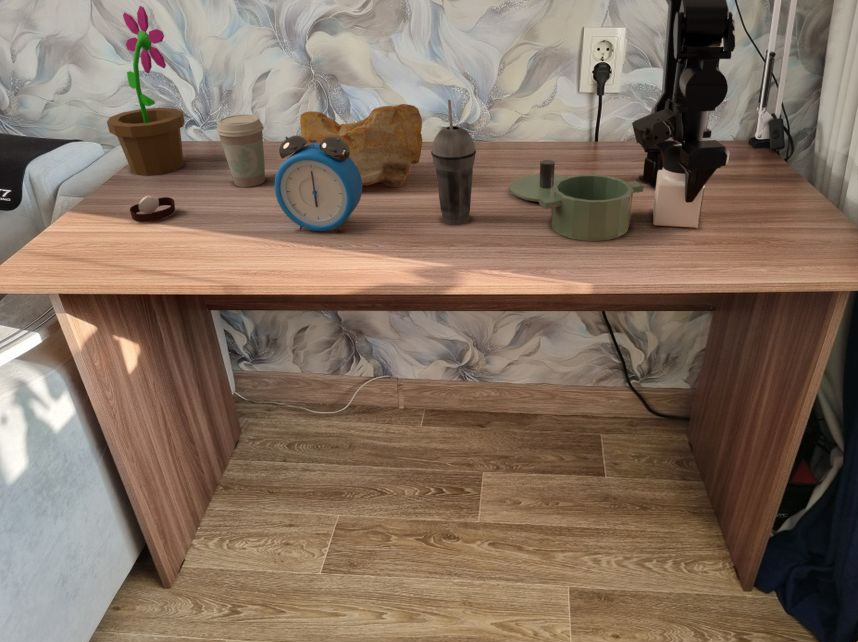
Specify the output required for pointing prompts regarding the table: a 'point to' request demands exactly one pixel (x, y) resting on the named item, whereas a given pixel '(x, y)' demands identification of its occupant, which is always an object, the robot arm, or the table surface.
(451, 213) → the beverage cup
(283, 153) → the alarm clock
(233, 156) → the coffee cup
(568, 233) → the cooking pot
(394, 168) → the rough brown rock
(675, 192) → the medicine bottle
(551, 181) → the lid
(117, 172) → the table surface
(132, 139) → the flowerpot
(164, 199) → the watch
